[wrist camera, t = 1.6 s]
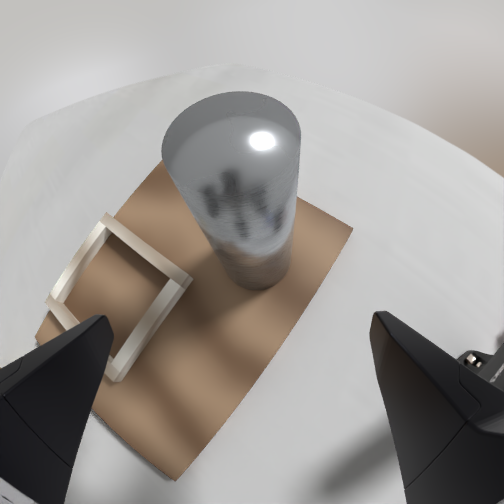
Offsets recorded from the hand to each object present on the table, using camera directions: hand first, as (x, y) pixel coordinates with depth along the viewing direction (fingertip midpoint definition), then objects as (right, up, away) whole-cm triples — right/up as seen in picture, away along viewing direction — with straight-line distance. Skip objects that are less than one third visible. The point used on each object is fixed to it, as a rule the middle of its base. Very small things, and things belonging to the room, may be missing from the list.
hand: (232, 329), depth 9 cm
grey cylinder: (+1, +2, +13) cm, 13 cm away
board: (-6, -1, +14) cm, 15 cm away
